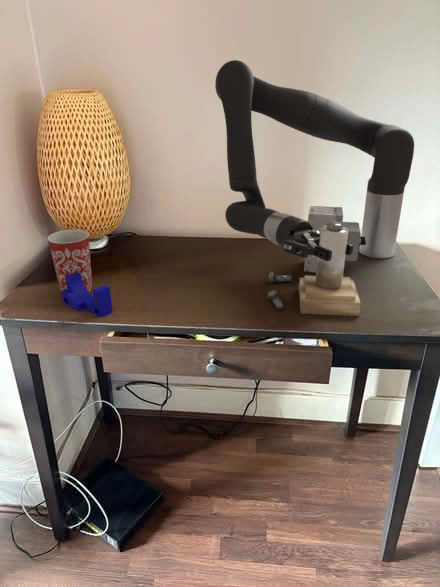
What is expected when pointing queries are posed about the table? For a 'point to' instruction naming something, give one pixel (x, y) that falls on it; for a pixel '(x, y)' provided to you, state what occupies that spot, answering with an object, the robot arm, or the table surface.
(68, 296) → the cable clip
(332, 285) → the silver metal bottle
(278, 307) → the bolt
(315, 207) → the circuit breaker
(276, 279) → the bolt
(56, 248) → the mug
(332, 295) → the stand
